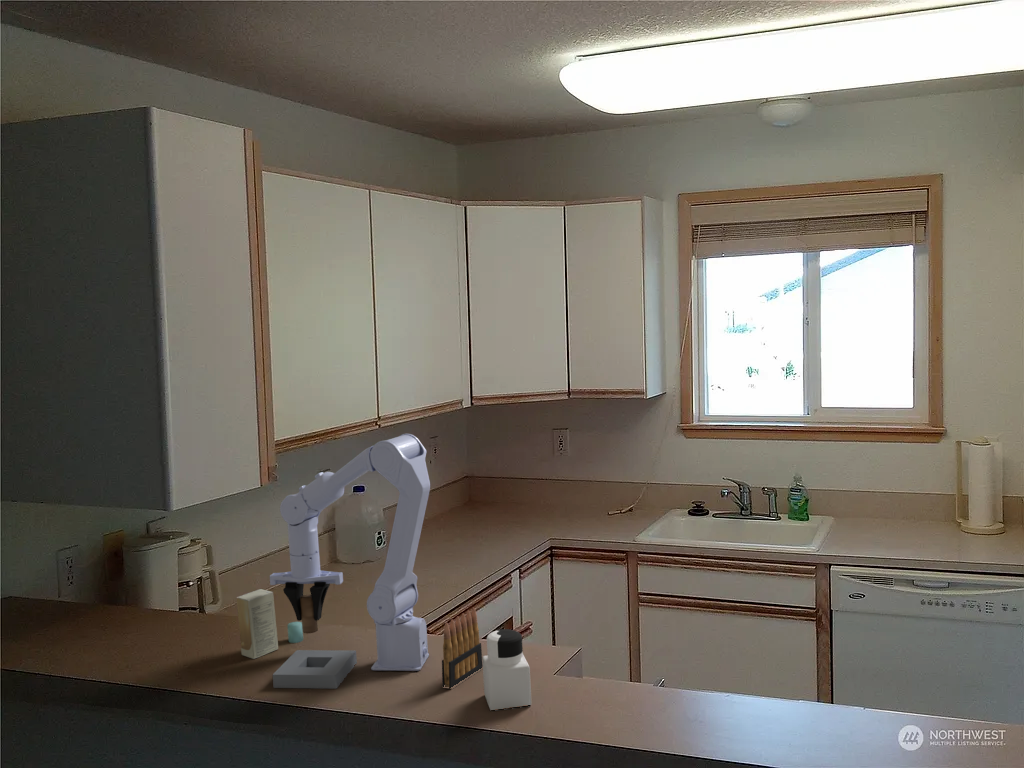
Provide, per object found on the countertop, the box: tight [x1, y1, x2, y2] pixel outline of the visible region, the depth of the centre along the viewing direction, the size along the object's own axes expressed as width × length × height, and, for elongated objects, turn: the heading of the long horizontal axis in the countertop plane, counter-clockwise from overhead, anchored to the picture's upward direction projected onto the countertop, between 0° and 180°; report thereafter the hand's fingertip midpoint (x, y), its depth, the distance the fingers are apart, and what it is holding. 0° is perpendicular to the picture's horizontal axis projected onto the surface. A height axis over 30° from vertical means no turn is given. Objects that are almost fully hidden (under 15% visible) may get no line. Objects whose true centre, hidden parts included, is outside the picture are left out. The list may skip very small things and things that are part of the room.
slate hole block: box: [272, 649, 358, 690], centre depth 179 cm, size 12×12×2 cm
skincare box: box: [235, 588, 279, 660], centre depth 192 cm, size 6×4×12 cm
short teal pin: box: [286, 621, 304, 644], centre depth 199 cm, size 3×3×4 cm
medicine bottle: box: [482, 628, 532, 711], centre depth 163 cm, size 7×7×12 cm
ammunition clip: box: [441, 606, 483, 688], centre depth 174 cm, size 11×2×12 cm, turn 149°
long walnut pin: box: [300, 593, 319, 634], centre depth 190 cm, size 3×3×7 cm
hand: (309, 618), depth 190 cm, fingers closed on long walnut pin, 3 cm apart
